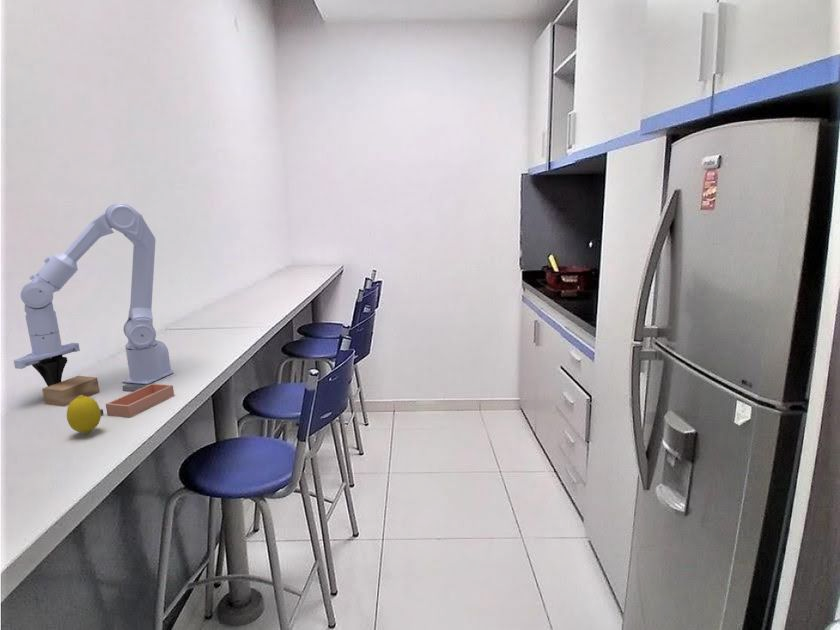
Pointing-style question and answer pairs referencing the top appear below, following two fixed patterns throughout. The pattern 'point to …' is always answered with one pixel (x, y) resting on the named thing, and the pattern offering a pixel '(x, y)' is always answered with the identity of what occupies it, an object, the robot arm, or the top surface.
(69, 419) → the lemon
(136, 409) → the tray
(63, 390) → the block
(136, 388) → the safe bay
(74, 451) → the top surface
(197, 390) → the top surface
